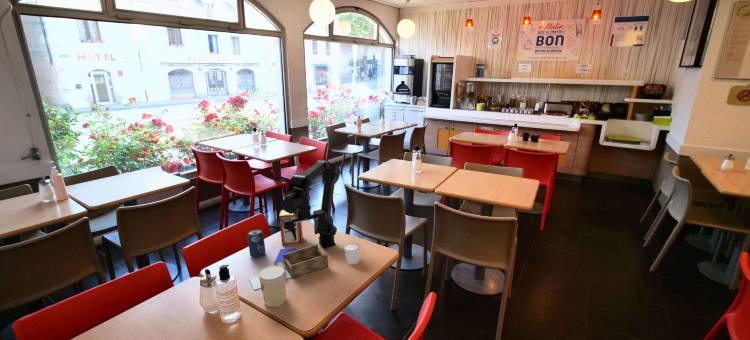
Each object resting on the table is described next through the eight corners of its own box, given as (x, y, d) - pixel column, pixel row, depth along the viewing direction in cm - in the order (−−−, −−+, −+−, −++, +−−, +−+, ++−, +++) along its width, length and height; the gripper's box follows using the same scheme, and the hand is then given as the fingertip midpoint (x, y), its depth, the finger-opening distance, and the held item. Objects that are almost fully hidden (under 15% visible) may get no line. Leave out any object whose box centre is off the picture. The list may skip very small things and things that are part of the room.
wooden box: (318, 256, 158) (317, 244, 157) (328, 267, 149) (327, 254, 148) (284, 266, 150) (282, 254, 149) (292, 279, 141) (291, 266, 140)
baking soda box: (302, 237, 176) (300, 208, 172) (301, 243, 170) (299, 213, 166) (283, 239, 175) (280, 209, 171) (282, 245, 169) (278, 215, 164)
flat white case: (284, 268, 150) (283, 258, 148) (291, 278, 143) (290, 268, 141) (248, 280, 142) (247, 270, 141) (254, 291, 135) (252, 280, 134)
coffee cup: (265, 293, 133) (261, 265, 129) (290, 291, 134) (287, 264, 130) (259, 309, 124) (255, 280, 121) (286, 307, 125) (282, 278, 121)
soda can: (263, 259, 157) (259, 235, 154) (247, 259, 157) (244, 235, 154) (267, 251, 164) (265, 228, 160) (253, 251, 164) (250, 228, 160)
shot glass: (363, 260, 154) (362, 246, 152) (352, 266, 149) (351, 252, 147) (352, 255, 158) (352, 241, 156) (341, 261, 154) (340, 247, 152)
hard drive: (292, 262, 152) (297, 248, 164) (273, 262, 152) (280, 248, 164) (292, 265, 152) (297, 251, 164) (273, 266, 152) (280, 251, 164)
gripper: (315, 193, 157) (318, 225, 161) (275, 202, 147) (278, 235, 152) (326, 200, 148) (328, 234, 152) (283, 210, 138) (287, 246, 143)
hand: (305, 237), depth 150 cm, fingers open, 9 cm apart
